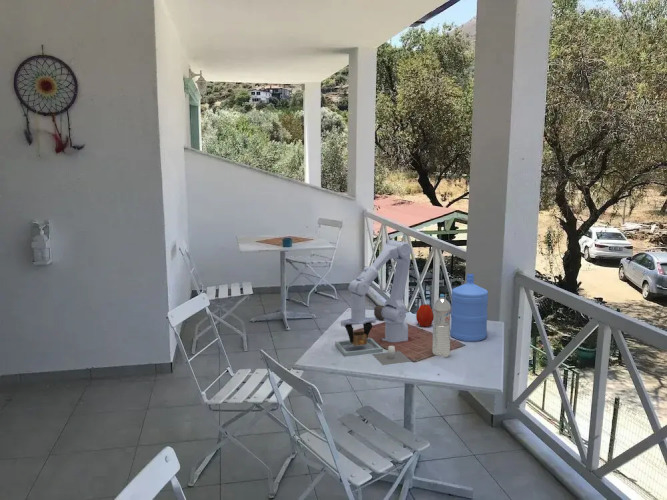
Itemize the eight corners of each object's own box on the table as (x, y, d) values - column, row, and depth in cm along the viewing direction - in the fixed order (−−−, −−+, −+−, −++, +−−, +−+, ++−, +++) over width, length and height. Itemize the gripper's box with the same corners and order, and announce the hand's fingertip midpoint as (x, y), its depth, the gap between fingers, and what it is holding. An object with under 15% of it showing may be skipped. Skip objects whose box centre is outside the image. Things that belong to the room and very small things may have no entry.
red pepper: (423, 321, 261) (423, 300, 259) (437, 325, 255) (437, 303, 253) (412, 325, 255) (412, 303, 253) (426, 329, 249) (426, 306, 247)
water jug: (485, 343, 229) (488, 279, 224) (448, 340, 234) (449, 277, 229) (487, 332, 243) (489, 272, 239) (452, 329, 248) (454, 270, 244)
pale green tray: (370, 343, 231) (370, 337, 230) (382, 354, 218) (382, 348, 217) (335, 347, 227) (335, 341, 226) (345, 358, 213) (344, 352, 213)
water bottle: (439, 359, 211) (440, 297, 207) (428, 354, 217) (429, 294, 213) (453, 356, 214) (454, 295, 210) (442, 351, 220) (443, 291, 216)
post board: (399, 353, 219) (399, 340, 218) (411, 363, 207) (411, 350, 206) (371, 356, 215) (371, 343, 214) (382, 367, 204) (382, 353, 203)
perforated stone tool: (405, 321, 262) (405, 307, 261) (401, 324, 258) (401, 310, 257) (377, 317, 270) (377, 303, 269) (373, 319, 265) (373, 306, 264)
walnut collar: (362, 340, 225) (362, 331, 224) (368, 346, 218) (368, 336, 217) (349, 341, 223) (349, 332, 223) (355, 347, 216) (355, 337, 215)
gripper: (344, 313, 213) (344, 346, 216) (378, 310, 217) (378, 342, 220) (339, 308, 220) (339, 340, 222) (372, 305, 224) (372, 337, 226)
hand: (358, 341), depth 221 cm, fingers closed on walnut collar, 6 cm apart
